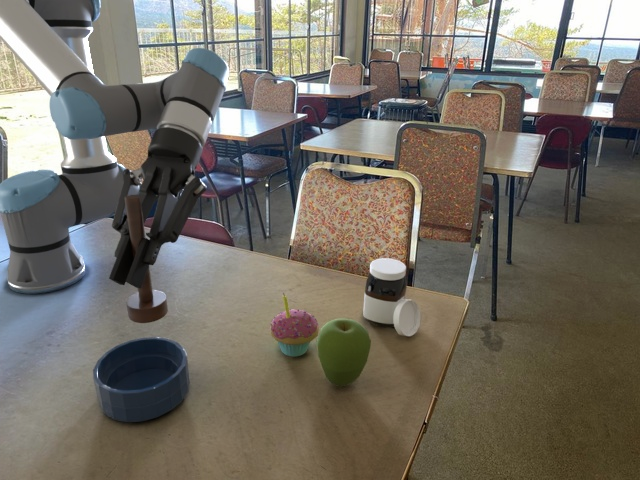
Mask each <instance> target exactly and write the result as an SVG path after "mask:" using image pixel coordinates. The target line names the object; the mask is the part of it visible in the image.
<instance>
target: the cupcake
mask: <svg viewBox="0 0 640 480" xmlns="http://www.w3.org/2000/svg"><path fill="white" fill-rule="evenodd" d="M282 301H283V306H284V311H281V312H279V313H278V314H276V315H275V316H273V319H271V322H270V327H269V330H270V331H269V332H270V336H271V337H272V338H274V340H275V341H276V342H277V343H278V346H279V348H280V351H281V352H282V354H284V355H285V356H288V357H300V356H302V355H305V353H307V351H308V348H309V346H310V344H311V342H312V341H314V340H315V339H317V338H318V336H319V332H320V331H319V330H320V327H319V323H318V321H317V319H316V318H315V315H313V314H311V313H309V312H308V311H307V310H302V309H290V307H289V302H288V297H287V295H285V292H284V291H282Z"/></svg>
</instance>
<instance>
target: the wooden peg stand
mask: <svg viewBox="0 0 640 480" xmlns="http://www.w3.org/2000/svg"><path fill="white" fill-rule="evenodd" d="M125 205H126V212H127V219H128V226H129V233H130V240H131V246H132V253H133V260H134V258H135V256H136V253H137V250H138V248H139V245H140V243H141V240H142V238H147V236H146V232H145V223H144V222H143V214H142V207H141V199H140V196H139V194H138V195H128V196H125ZM150 267H151V266H149V268H148V271H147V273H146V276H145V279H144V282H143V284H142V287H141V288H137V292H135V293H134V294H131V295H130V296H129V297H128V298H127V299H126V302H125V303H126V309H127V316H128V319H129V320H130V321H131V322H134V323H138V324H149V323H154V322H157V321H159V320H161V319H163V318H164V317H165V316H166V315H168V312H169V309H168V301H167V295H166V294H165V292H163V291H161V290H156V289H153V283H152V276H151V269H150Z"/></svg>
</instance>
